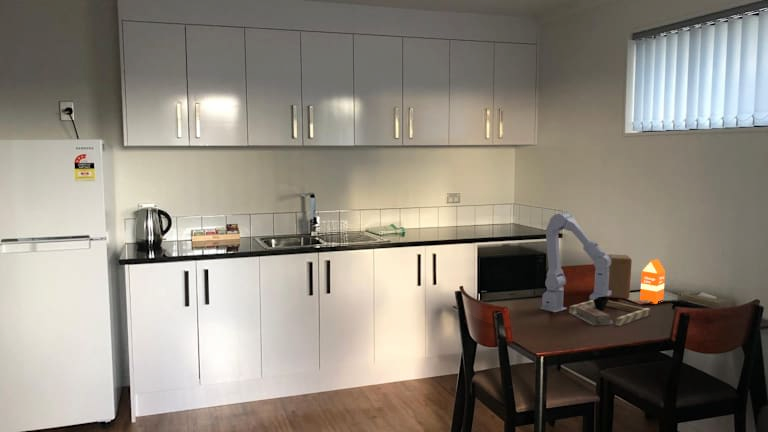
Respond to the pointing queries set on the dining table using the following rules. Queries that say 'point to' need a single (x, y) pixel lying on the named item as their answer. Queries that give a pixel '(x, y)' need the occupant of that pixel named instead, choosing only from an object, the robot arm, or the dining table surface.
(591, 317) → the packaged product
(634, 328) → the dining table surface
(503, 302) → the dining table surface
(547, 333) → the dining table surface
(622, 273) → the wooden block
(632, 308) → the beige wooden frame
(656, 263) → the orange juice
